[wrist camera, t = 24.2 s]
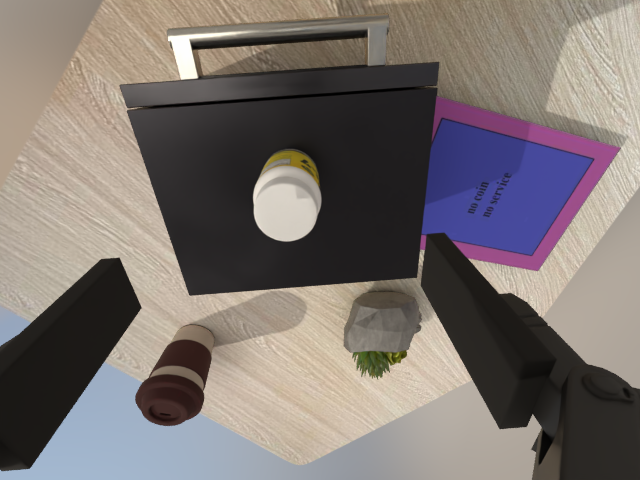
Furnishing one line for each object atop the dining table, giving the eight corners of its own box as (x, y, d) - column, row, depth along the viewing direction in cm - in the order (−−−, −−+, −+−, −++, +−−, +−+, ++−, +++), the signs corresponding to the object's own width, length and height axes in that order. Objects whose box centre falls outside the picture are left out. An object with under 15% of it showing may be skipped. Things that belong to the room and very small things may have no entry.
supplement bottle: (326, 190, 27) (334, 234, 20) (277, 208, 28) (267, 257, 20) (306, 138, 25) (306, 165, 18) (253, 159, 26) (233, 193, 18)
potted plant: (432, 294, 52) (424, 371, 56) (366, 278, 60) (363, 346, 63) (403, 320, 43) (396, 411, 46) (329, 297, 51) (328, 376, 54)
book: (537, 271, 52) (371, 240, 47) (526, 261, 55) (367, 231, 49) (621, 147, 43) (424, 92, 37) (602, 143, 45) (416, 91, 40)
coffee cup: (194, 310, 56) (161, 383, 43) (232, 340, 60) (212, 415, 47) (157, 334, 58) (115, 410, 45) (196, 362, 62) (168, 439, 49)
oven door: (185, 43, 36) (97, 22, 21) (386, 29, 37) (446, -2, 21) (197, 93, 39) (126, 108, 23) (384, 80, 39) (437, 85, 24)
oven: (197, 95, 39) (126, 110, 23) (384, 82, 39) (437, 87, 24) (227, 222, 48) (189, 295, 32) (379, 210, 48) (417, 277, 32)
